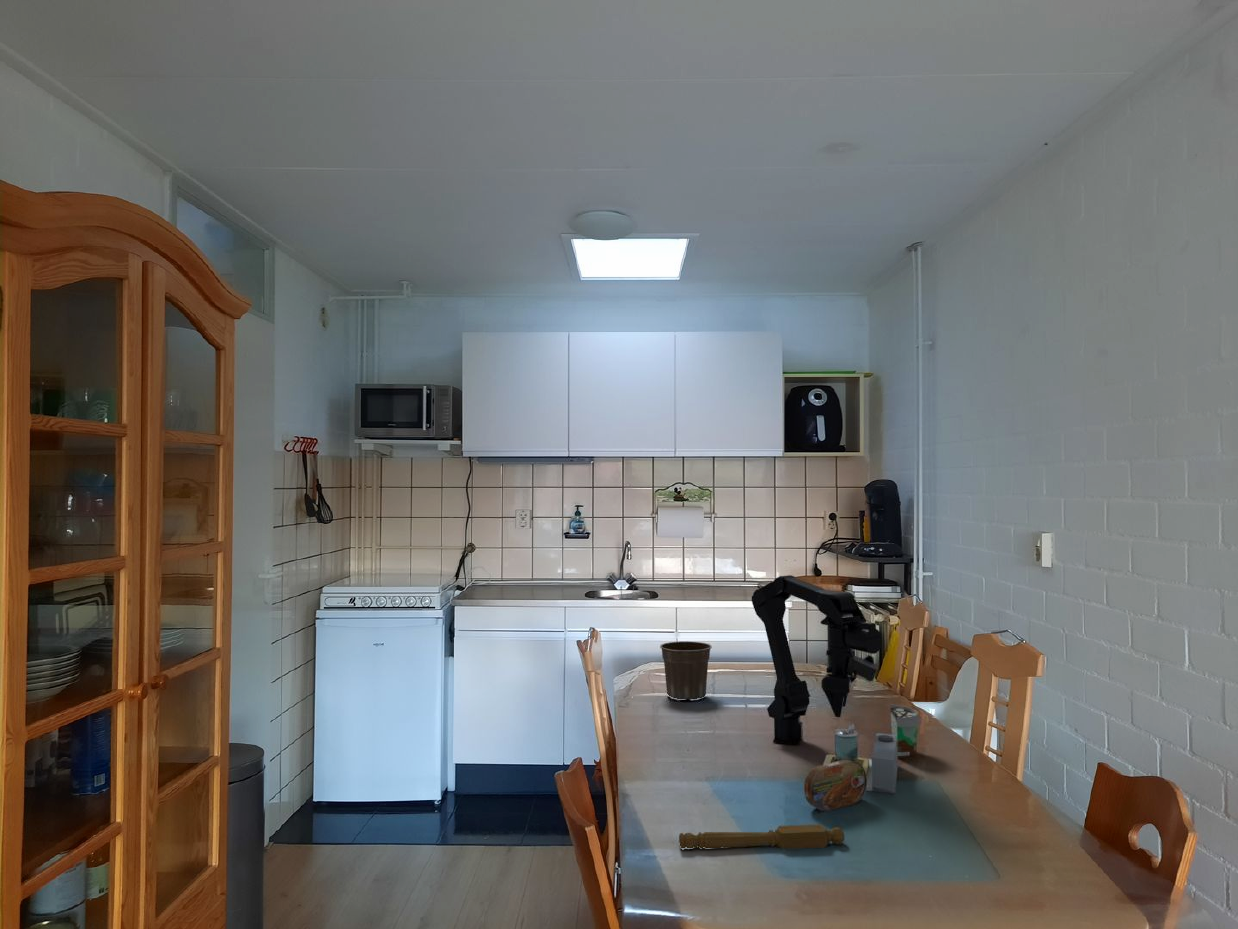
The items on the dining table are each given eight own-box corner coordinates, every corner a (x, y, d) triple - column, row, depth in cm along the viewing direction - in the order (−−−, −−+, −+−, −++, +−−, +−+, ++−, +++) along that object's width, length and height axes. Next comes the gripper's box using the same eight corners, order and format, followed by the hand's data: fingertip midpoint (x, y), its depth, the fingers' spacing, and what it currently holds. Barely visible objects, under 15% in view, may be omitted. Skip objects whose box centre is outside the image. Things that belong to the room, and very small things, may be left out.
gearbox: (817, 784, 168) (816, 749, 168) (826, 758, 185) (826, 725, 185) (894, 794, 162) (893, 757, 162) (897, 765, 179) (896, 732, 179)
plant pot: (678, 688, 254) (677, 638, 254) (721, 695, 244) (720, 643, 245) (651, 699, 240) (650, 647, 241) (695, 706, 231) (694, 652, 232)
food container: (926, 762, 181) (924, 719, 181) (898, 761, 182) (897, 718, 182) (916, 745, 193) (915, 705, 193) (890, 744, 194) (889, 704, 194)
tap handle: (678, 829, 140) (840, 823, 141) (679, 847, 140) (841, 840, 141) (680, 837, 137) (846, 830, 138) (681, 854, 137) (847, 848, 138)
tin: (812, 815, 152) (811, 772, 152) (801, 810, 155) (800, 767, 155) (868, 800, 159) (867, 759, 159) (857, 795, 162) (856, 755, 162)
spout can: (833, 772, 173) (832, 726, 173) (836, 764, 178) (835, 720, 178) (857, 775, 171) (856, 728, 171) (859, 767, 176) (858, 722, 176)
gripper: (871, 657, 171) (872, 727, 171) (878, 641, 188) (879, 705, 188) (820, 652, 176) (821, 721, 175) (832, 637, 193) (832, 700, 193)
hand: (840, 711), depth 183 cm, fingers open, 9 cm apart
